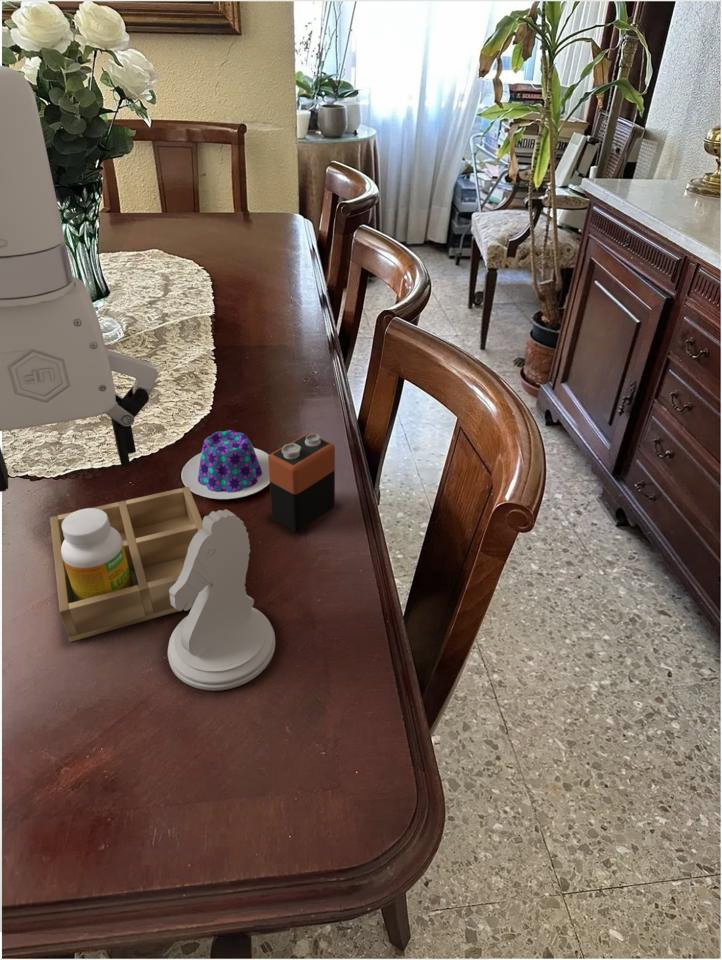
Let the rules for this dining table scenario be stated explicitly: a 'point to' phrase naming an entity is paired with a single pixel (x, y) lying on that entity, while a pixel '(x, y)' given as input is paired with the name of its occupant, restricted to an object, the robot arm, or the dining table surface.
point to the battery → (302, 481)
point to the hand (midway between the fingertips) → (65, 471)
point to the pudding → (227, 467)
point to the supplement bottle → (93, 554)
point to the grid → (133, 562)
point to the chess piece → (218, 610)
